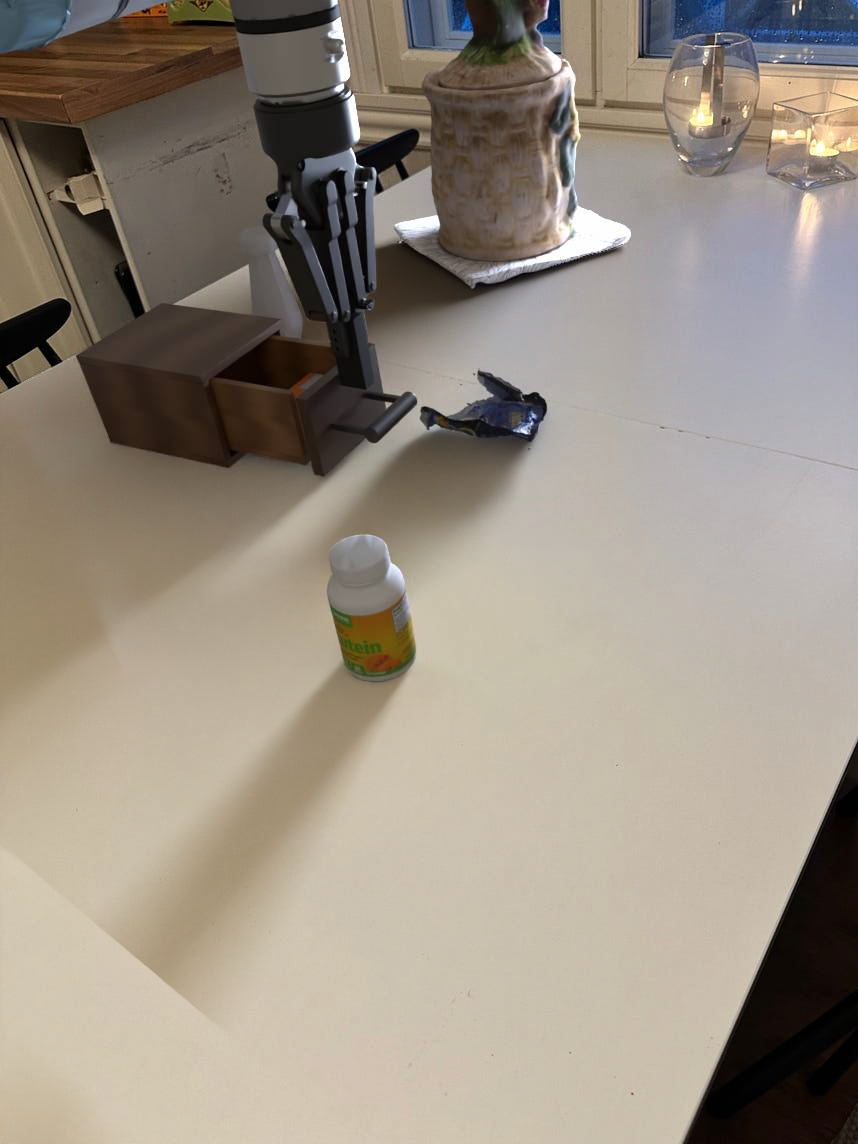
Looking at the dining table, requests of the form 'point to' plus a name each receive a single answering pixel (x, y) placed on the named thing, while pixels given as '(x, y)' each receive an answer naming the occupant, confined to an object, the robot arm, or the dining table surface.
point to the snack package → (494, 412)
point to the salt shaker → (269, 281)
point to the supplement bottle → (370, 609)
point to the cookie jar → (505, 154)
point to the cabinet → (170, 378)
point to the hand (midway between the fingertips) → (357, 383)
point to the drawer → (301, 405)
